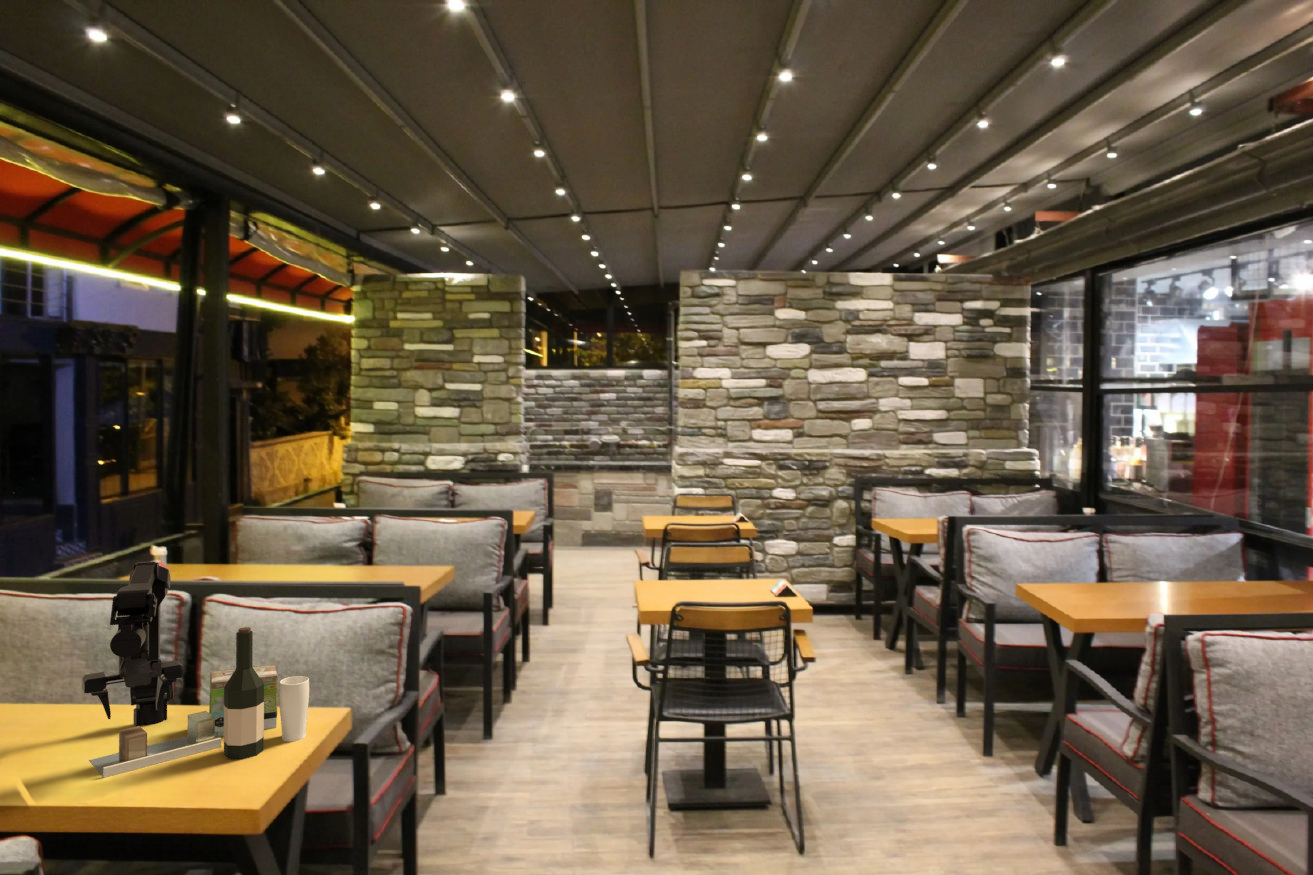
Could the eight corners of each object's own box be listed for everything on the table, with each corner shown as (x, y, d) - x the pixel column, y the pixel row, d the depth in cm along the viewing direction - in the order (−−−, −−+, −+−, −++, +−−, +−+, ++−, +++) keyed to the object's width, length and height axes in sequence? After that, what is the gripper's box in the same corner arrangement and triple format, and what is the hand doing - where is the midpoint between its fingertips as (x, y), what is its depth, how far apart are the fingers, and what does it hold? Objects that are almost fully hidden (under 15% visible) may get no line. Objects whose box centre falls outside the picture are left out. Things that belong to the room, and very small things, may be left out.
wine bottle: (271, 753, 191) (272, 626, 190) (240, 766, 183) (240, 634, 182) (247, 746, 194) (247, 622, 194) (215, 759, 186) (215, 630, 186)
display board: (202, 735, 200) (202, 723, 200) (221, 750, 191) (221, 738, 191) (89, 764, 183) (89, 751, 183) (104, 782, 174) (104, 768, 174)
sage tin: (187, 743, 193) (187, 714, 193) (205, 739, 196) (205, 710, 196) (196, 751, 189) (196, 721, 189) (214, 746, 192) (214, 717, 191)
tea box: (209, 742, 196) (209, 682, 196) (208, 729, 205) (209, 671, 205) (277, 731, 204) (278, 673, 204) (274, 718, 213) (274, 662, 212)
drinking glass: (315, 737, 200) (315, 677, 200) (294, 748, 194) (294, 685, 193) (293, 734, 202) (293, 674, 202) (272, 744, 196) (272, 682, 196)
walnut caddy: (119, 761, 183) (119, 730, 183) (139, 756, 186) (139, 725, 185) (126, 769, 178) (126, 737, 178) (147, 764, 181) (147, 733, 181)
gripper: (87, 660, 170) (87, 734, 170) (188, 646, 182) (188, 715, 182) (81, 649, 178) (81, 719, 178) (178, 635, 190) (178, 701, 190)
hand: (133, 714), depth 182 cm, fingers open, 9 cm apart
